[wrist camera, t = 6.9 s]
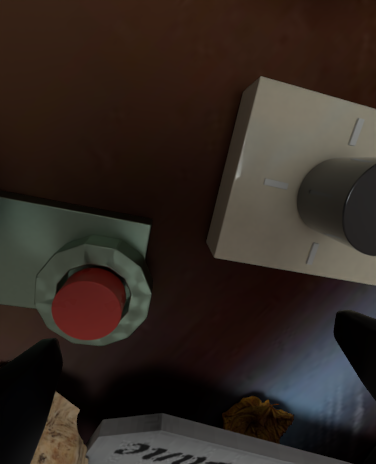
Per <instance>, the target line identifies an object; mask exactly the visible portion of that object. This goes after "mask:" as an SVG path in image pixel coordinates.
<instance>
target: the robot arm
mask: <svg viewBox="0 0 376 464" xmlns="http://www.w3.org/2000/svg"><path fill="white" fill-rule="evenodd" d="M334 337H335V339H336V341H337V343H338V344H339V346H340V348H341V349H342V351H343V352H344V354H345V356H346V357H347V359H348V360H349V362H350V364H351V365H352V367H353V369H354V370H355V372H356V373H357V375H358V377H359V378H360V380H361V381H362V383H363V384H364V386H365V387H366V388H367V390H368V391H369V393H370V394H371V395H372V397H373V398H374V399H375V401H376V319H374V318H371V317H369V316H366V315H363V314H361V313H358V312H355V311H352V310H342V311H338V312H337V314H336V318H335V325H334ZM62 366H63V360H62V355H61V350H60V345H59V341H58V340H57V339H56V338H51V339H43V340H41V341H39V342H38V343H36V344H35V345H33V346H32V347H31V348H29V349H28V350H26V351H25V352H23V353H22V354H21V355H19V356H18V357H16V358H15V359H13V360H12V361H11V362H9V363H8V364H6V365H5V366H3V367H2V368H1V369H0V464H31V461H32V459H33V456H34V454H35V451H36V448H37V446H38V443H39V441H40V438H41V436H42V433H43V430H44V428H45V425H46V422H47V419H48V416H49V413H50V409H51V406H52V402H53V399H54V395H55V392H56V388H57V385H58V381H59V378H60V374H61V371H62Z"/></svg>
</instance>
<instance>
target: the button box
mask: <svg viewBox="0 0 376 464" xmlns="http://www.w3.org/2000/svg"><path fill="white" fill-rule="evenodd" d="M151 225H152V219H150V218H145V217H139V216H134V215H129V214H123V213H118V212H113V211H107V210H102V209H97V208H91V207H86V206H81V205H75V204H70V203H65V202H60V201H54V200H49V199H44V198H38V197H33V196H28V195H22V194H17V193H12V192H6V191H1V190H0V304H2V305H10V306H18V307H26V308H33V309H37V310H38V312H39V314H40V315H41V317H42V319H43V321H44V322H45V324H46V326H47V327H48V328H49V329H50V330H52V331H54V332H55V333H57V334H58V335H60V336H62V337H63V338H65V339H67V340H68V341H70V342H72V343H77V344H85V345H94V346H104V345H107V344H110V343H113V342H116V341H119V340H122V339H125V338H128V337H129V336H130V335H131V334H132V333H133V332H134V331H135V330H136V329H137V328H138V327H139V326H140V325H141V324H142V323H143V322H144V321H145V319H146V318H147V316H148V311H149V306H150V300H151V295H152V286H153V279H152V276H151V274H150V271H149V269H148V266H147V264H146V261H145V258H146V252H147V247H148V241H149V236H150V231H151ZM86 268H101V269H105V270H107V271H110V272H111V273H113V274H114V275H116V276H117V277H118V278H119V279H120V281H121V282H122V284H123V285H124V288H125V291H126V301H125V305H124V308H123V312H122V316H121V320H120V322H119V324H118V326H117V327H116V328H115V329H114V330H113V331H112V332H111V333H110V334H108V335H107V336H105V337H103V338H100V339H96V340H80V339H76V338H73V337H71V336H69V335H67V334H65V333H64V332H63V331H62V330H60V329H59V327H58V326H57V325H56V323H55V322H54V319H53V317H52V311H51V307H52V302H53V299H54V297H55V295H56V294H57V292H58V291H59V290H60V289H61V287H62V286H63V285H64V284H65V282H66V281H67V280H68V279H69V278H70V277H71V275H73V274H74V273H76V272H77V271H79V270H82V269H86Z"/></svg>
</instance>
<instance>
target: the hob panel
mask: <svg viewBox="0 0 376 464" xmlns="http://www.w3.org/2000/svg"><path fill="white" fill-rule="evenodd" d="M338 157H376V109H374V108H370V107H367V106H363V105H360V104H356V103H353V102H349V101H346V100H342V99H339V98H336V97H332V96H329V95H325V94H322V93H318V92H315V91H311V90H308V89H304V88H301V87H297V86H294V85H290V84H287V83H283V82H280V81H276V80H273V79H269V78H266V77H263V76H260V77H259V78H258V79H257V80H256V81H255V82H253V83H252V84H251V85H250V86H249V87H248V88H247V89H245V90H244V91H243V94H242V98H241V102H240V106H239V110H238V114H237V118H236V122H235V127H234V131H233V135H232V139H231V143H230V147H229V151H228V155H227V159H226V163H225V167H224V171H223V176H222V180H221V184H220V188H219V192H218V196H217V200H216V204H215V208H214V212H213V216H212V220H211V225H210V229H209V233H208V237H207V241H206V243H207V245H208V247H209V249H210V251H211V253H212V255H213V257H214V258H218V259H224V260H230V261H236V262H241V263H247V264H253V265H259V266H265V267H270V268H276V269H282V270H288V271H294V272H300V273H305V274H311V275H317V276H323V277H329V278H334V279H340V280H346V281H352V282H358V283H364V284H369V285H375V286H376V256H369V255H366V254H363V253H361V252H359V251H357V250H354V249H352V248H350V247H348V246H346V245H344V244H342V243H340V242H337V241H335V240H333V239H331V238H329V237H327V236H325V235H323V234H320V233H318V232H316V231H314V230H312V229H310V228H309V227H308V226H307V225H305V223H304V222H303V221H302V219H301V218H300V215H299V213H298V209H297V194H298V190H299V187H300V185H301V183H302V181H303V179H304V178H305V176H306V175H307V174H308V173H309V171H310V170H311V169H313V168H314V167H315V166H316V165H318V164H319V163H321V162H323V161H325V160H328V159H331V158H338Z"/></svg>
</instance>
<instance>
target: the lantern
mask: <svg viewBox="0 0 376 464" xmlns="http://www.w3.org/2000/svg"><path fill="white" fill-rule="evenodd" d="M363 464H376V446H375V447H374V448H373V449H372V451H371V452H370V453H369V455H368V456H367V457H366V459H365V460H364V462H363Z"/></svg>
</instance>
